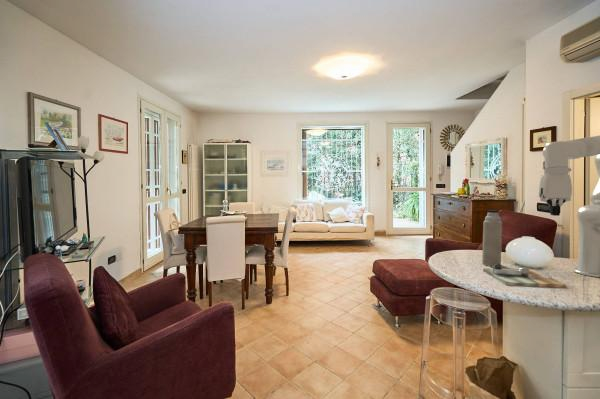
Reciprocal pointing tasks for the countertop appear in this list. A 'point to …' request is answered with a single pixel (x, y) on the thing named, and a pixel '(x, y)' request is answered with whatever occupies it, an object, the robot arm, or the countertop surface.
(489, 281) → the countertop surface
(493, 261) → the thermos bottle
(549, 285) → the lock board
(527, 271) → the arm
